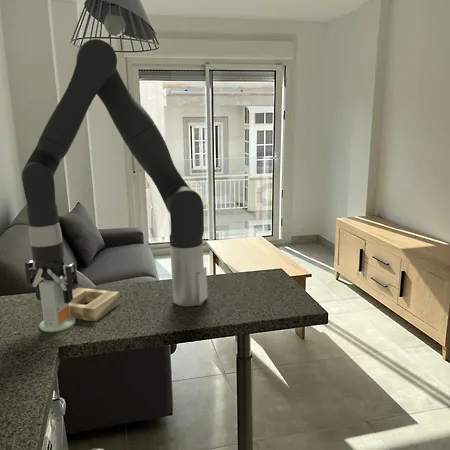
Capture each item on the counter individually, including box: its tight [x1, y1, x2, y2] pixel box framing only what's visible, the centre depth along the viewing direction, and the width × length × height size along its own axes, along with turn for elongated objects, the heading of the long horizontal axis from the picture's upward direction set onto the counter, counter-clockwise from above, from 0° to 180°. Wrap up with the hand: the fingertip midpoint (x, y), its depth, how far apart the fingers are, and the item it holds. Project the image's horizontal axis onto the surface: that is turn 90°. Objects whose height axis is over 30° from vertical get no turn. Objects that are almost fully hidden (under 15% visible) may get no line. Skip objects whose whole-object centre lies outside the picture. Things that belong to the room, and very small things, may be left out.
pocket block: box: [69, 287, 121, 322], centre depth 124 cm, size 14×12×4 cm
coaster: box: [38, 316, 76, 333], centre depth 116 cm, size 9×9×1 cm
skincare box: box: [39, 276, 71, 327], centre depth 115 cm, size 6×4×12 cm
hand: (54, 300), depth 115 cm, fingers open, 8 cm apart
